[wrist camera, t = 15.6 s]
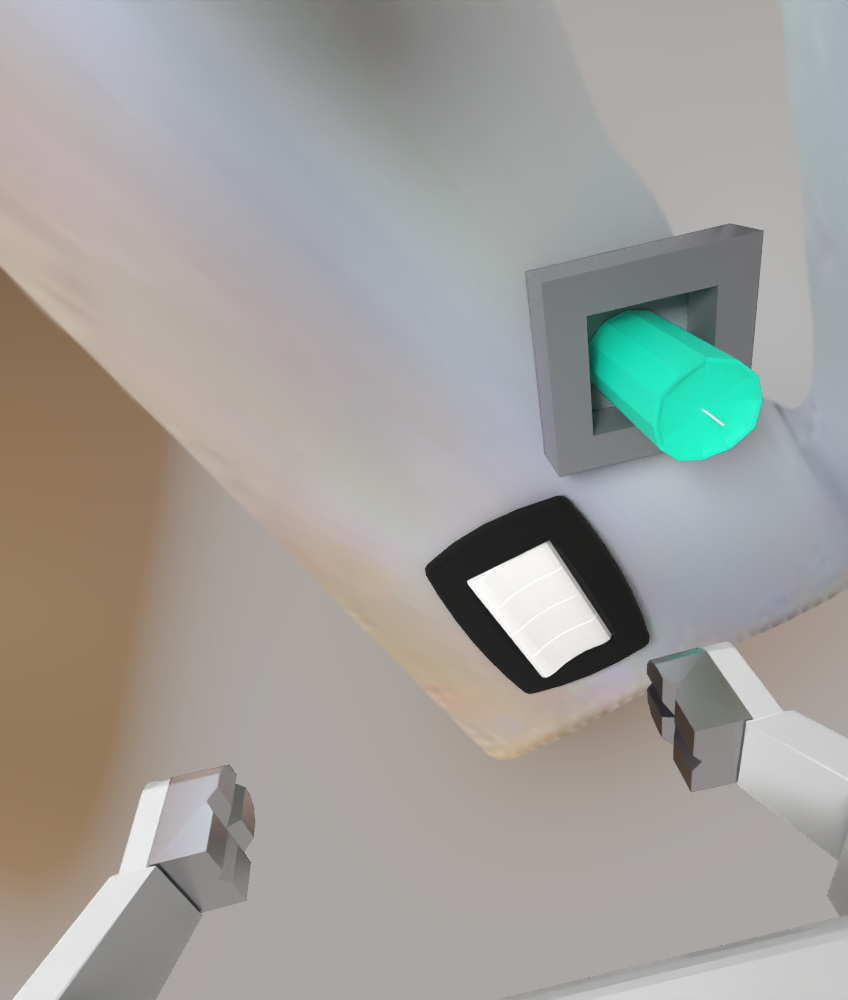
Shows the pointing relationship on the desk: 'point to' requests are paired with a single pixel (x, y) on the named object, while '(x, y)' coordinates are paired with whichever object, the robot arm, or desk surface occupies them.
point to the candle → (674, 385)
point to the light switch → (540, 596)
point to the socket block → (621, 283)
